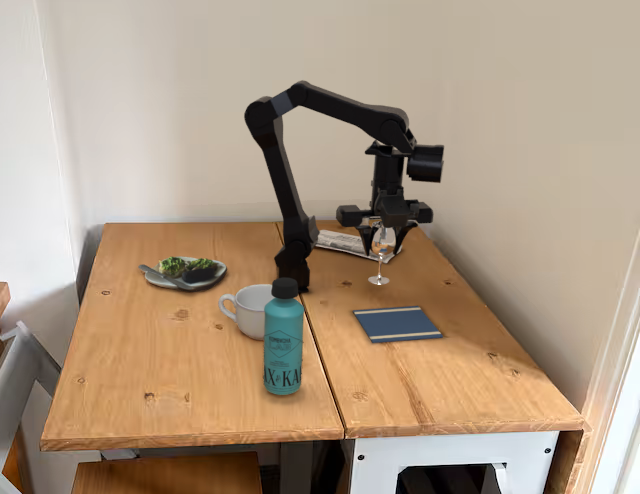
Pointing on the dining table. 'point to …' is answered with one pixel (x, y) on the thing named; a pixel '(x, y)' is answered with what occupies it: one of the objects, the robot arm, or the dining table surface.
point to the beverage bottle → (283, 338)
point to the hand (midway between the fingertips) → (380, 255)
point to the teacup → (249, 308)
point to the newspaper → (347, 244)
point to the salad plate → (185, 273)
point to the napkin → (396, 324)
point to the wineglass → (381, 247)
